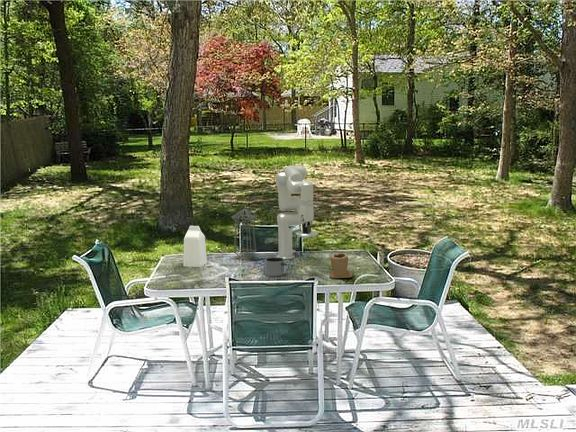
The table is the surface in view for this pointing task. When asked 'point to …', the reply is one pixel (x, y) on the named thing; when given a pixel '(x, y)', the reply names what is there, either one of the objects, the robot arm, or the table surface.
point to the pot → (274, 266)
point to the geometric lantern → (242, 232)
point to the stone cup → (340, 266)
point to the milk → (194, 248)
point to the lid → (309, 234)
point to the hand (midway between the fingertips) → (306, 232)
